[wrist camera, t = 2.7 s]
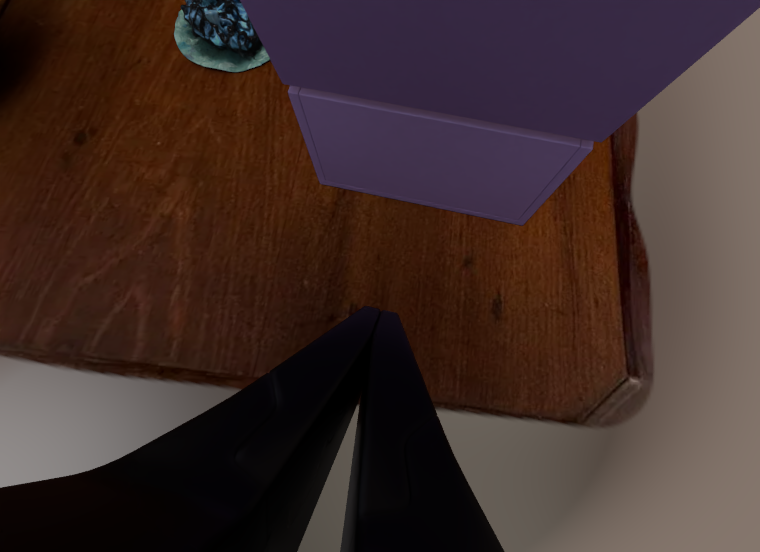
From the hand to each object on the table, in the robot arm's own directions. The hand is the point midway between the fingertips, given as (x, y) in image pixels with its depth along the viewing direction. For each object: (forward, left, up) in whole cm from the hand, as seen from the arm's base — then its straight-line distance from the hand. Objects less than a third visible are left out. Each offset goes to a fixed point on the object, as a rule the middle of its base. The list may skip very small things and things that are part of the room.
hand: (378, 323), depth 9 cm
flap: (+9, 0, +1) cm, 9 cm away
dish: (+21, +16, -11) cm, 29 cm away
